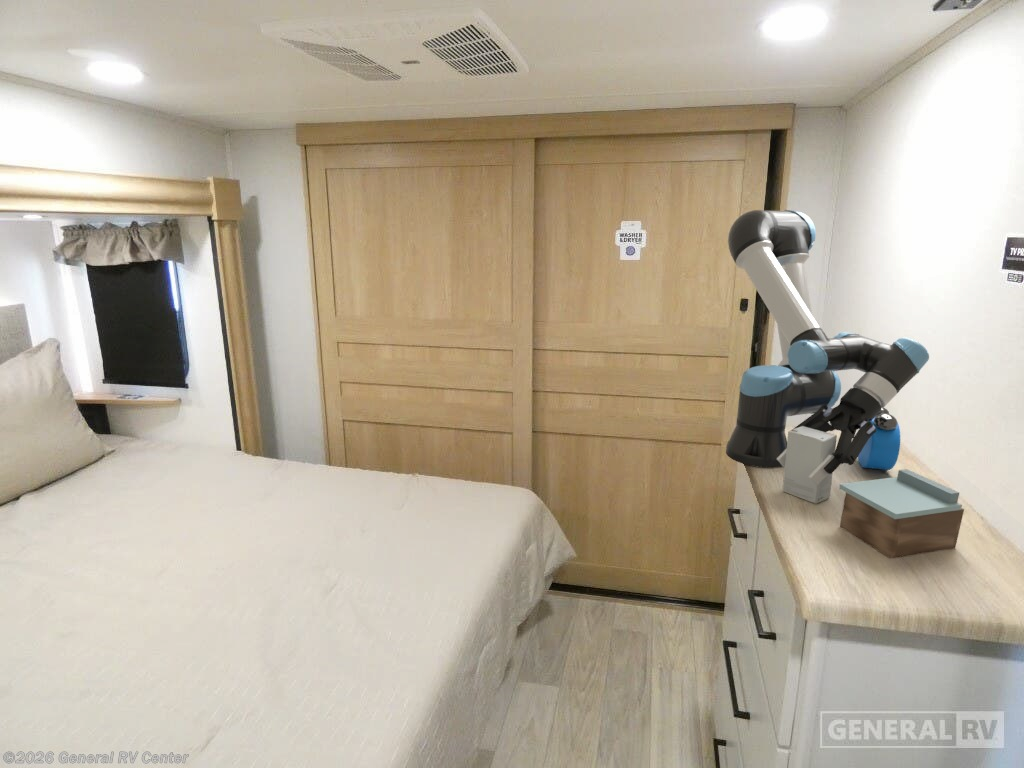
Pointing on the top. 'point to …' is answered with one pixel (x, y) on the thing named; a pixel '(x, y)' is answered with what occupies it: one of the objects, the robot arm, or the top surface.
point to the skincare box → (807, 463)
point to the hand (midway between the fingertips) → (796, 471)
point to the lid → (904, 495)
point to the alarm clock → (882, 443)
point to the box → (900, 529)
